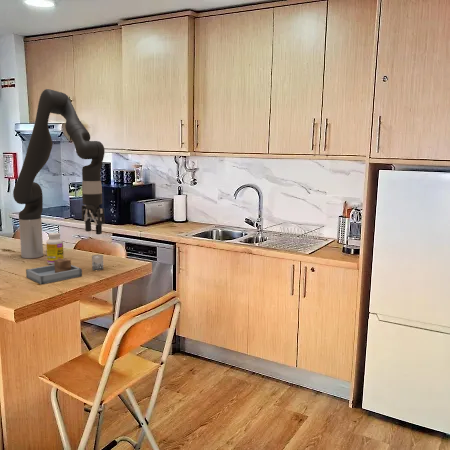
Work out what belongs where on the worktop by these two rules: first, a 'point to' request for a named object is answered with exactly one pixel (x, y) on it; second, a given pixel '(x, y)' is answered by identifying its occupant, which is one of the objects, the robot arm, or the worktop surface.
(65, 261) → the walnut block
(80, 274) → the parts tray
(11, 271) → the worktop surface
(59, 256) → the supplement bottle
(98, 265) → the grey rounded cylinder
